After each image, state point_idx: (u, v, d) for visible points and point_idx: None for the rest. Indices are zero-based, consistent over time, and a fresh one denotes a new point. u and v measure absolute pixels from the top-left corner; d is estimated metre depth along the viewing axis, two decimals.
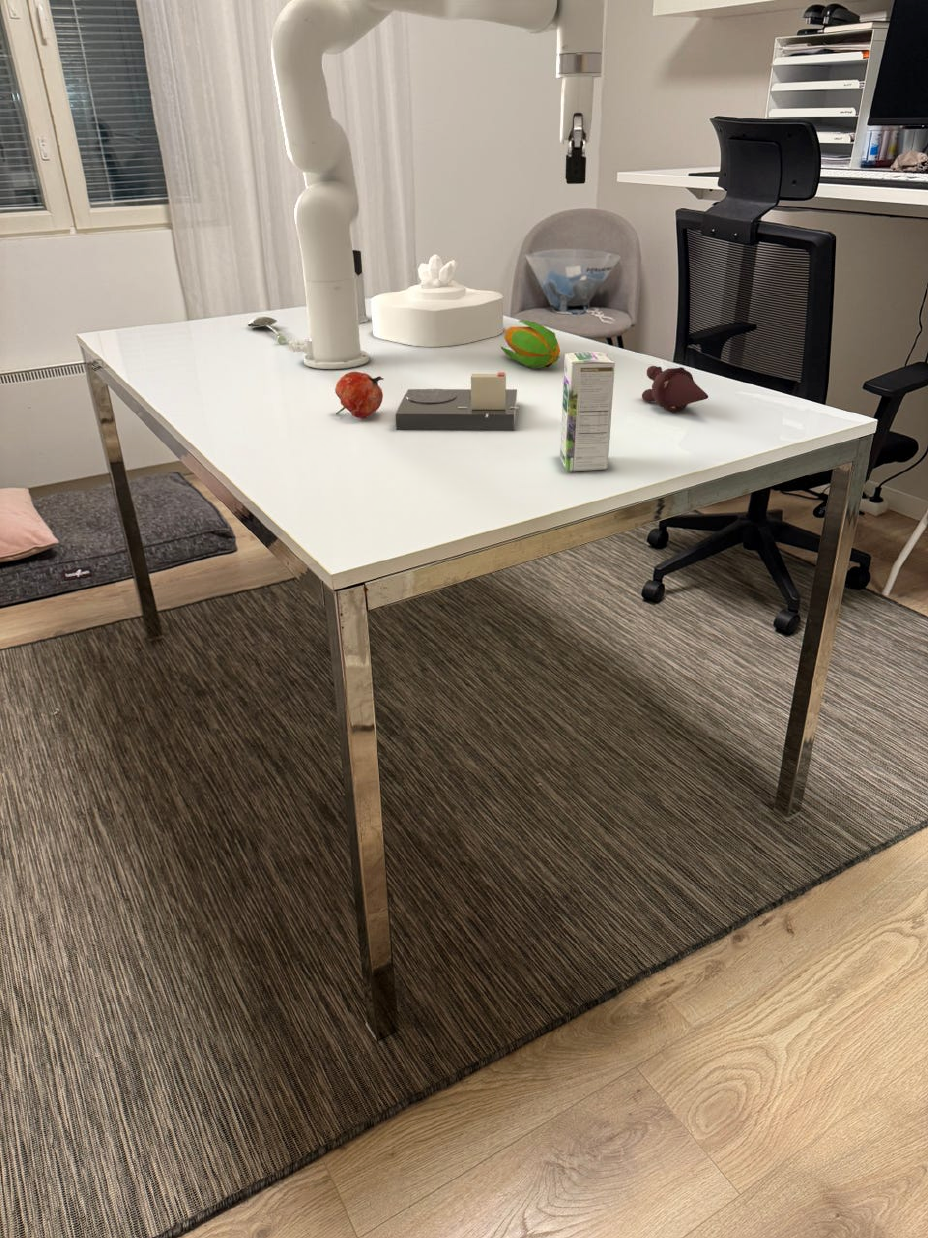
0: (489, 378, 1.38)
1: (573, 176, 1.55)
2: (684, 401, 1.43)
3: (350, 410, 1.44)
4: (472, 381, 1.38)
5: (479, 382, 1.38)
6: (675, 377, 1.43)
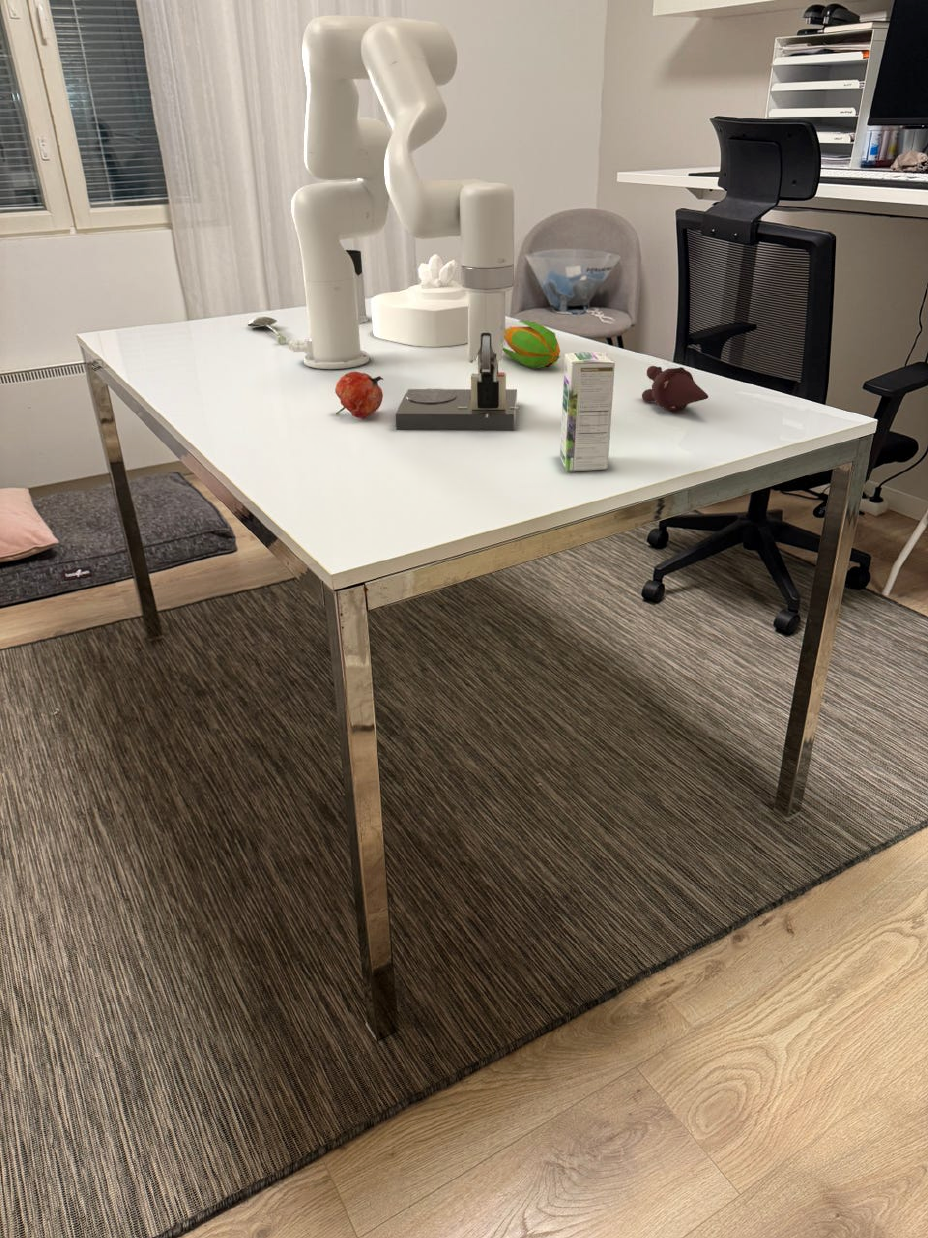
0: None
1: (484, 402, 1.38)
2: (684, 401, 1.43)
3: (350, 410, 1.44)
4: (472, 381, 1.38)
5: None
6: (675, 377, 1.43)
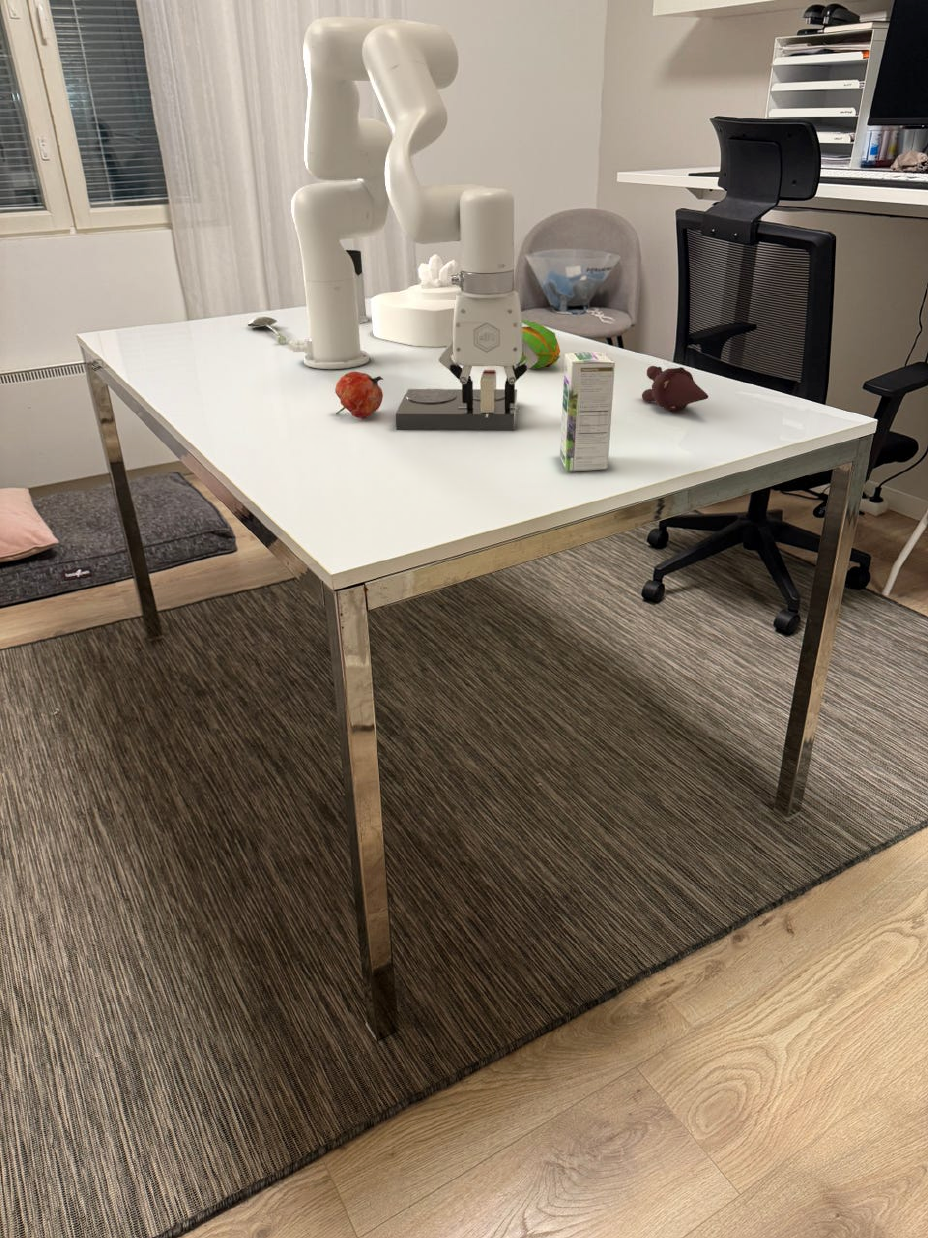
0: (495, 376, 1.39)
1: (514, 401, 1.40)
2: (684, 401, 1.43)
3: (350, 410, 1.44)
4: (494, 383, 1.37)
5: (494, 383, 1.38)
6: (675, 377, 1.43)
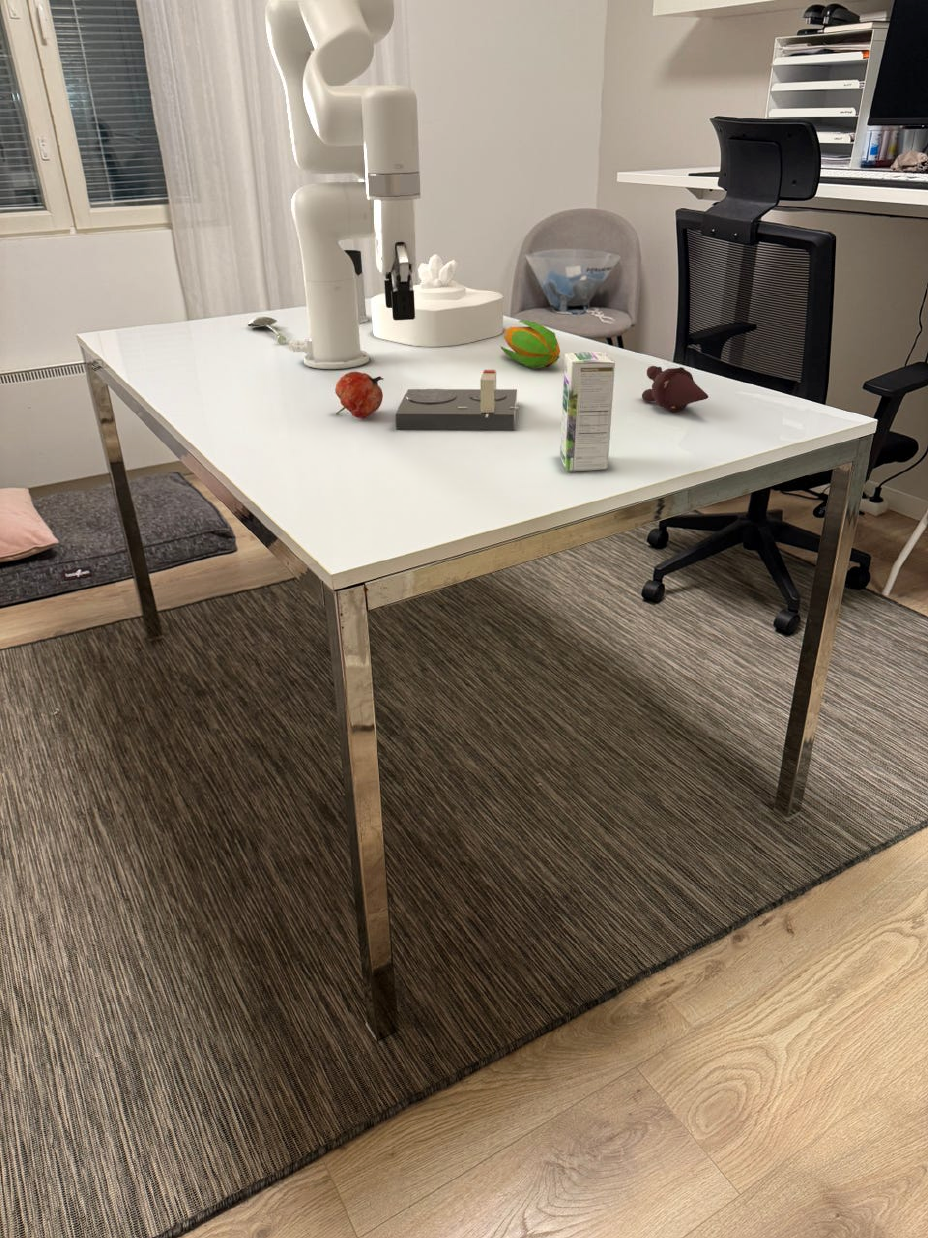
0: (495, 376, 1.39)
1: (401, 312, 1.32)
2: (684, 401, 1.43)
3: (350, 410, 1.44)
4: (494, 383, 1.37)
5: (494, 383, 1.38)
6: (675, 377, 1.43)
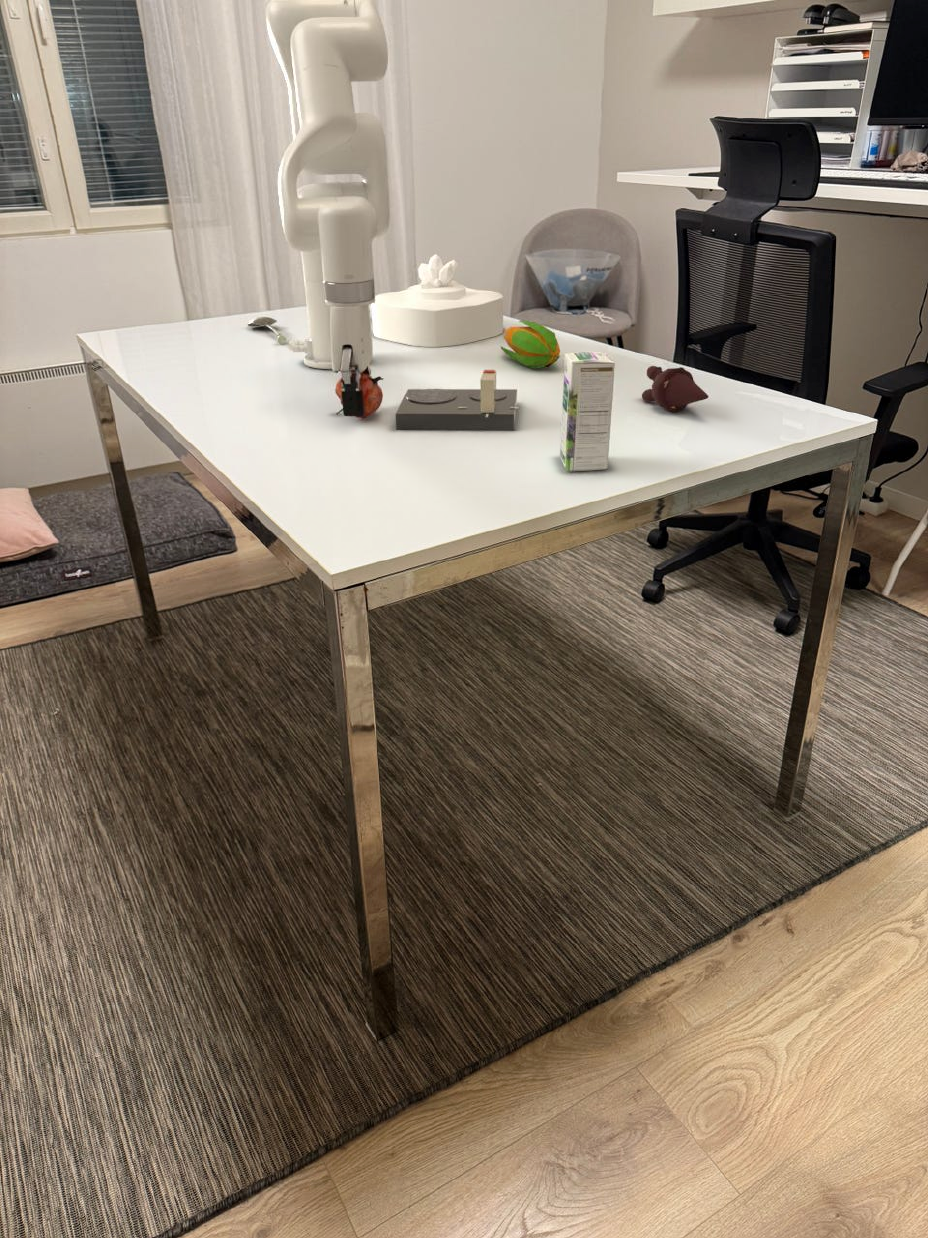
0: (495, 376, 1.39)
1: (349, 410, 1.42)
2: (684, 401, 1.43)
3: None
4: (494, 383, 1.37)
5: (494, 383, 1.38)
6: (675, 377, 1.43)
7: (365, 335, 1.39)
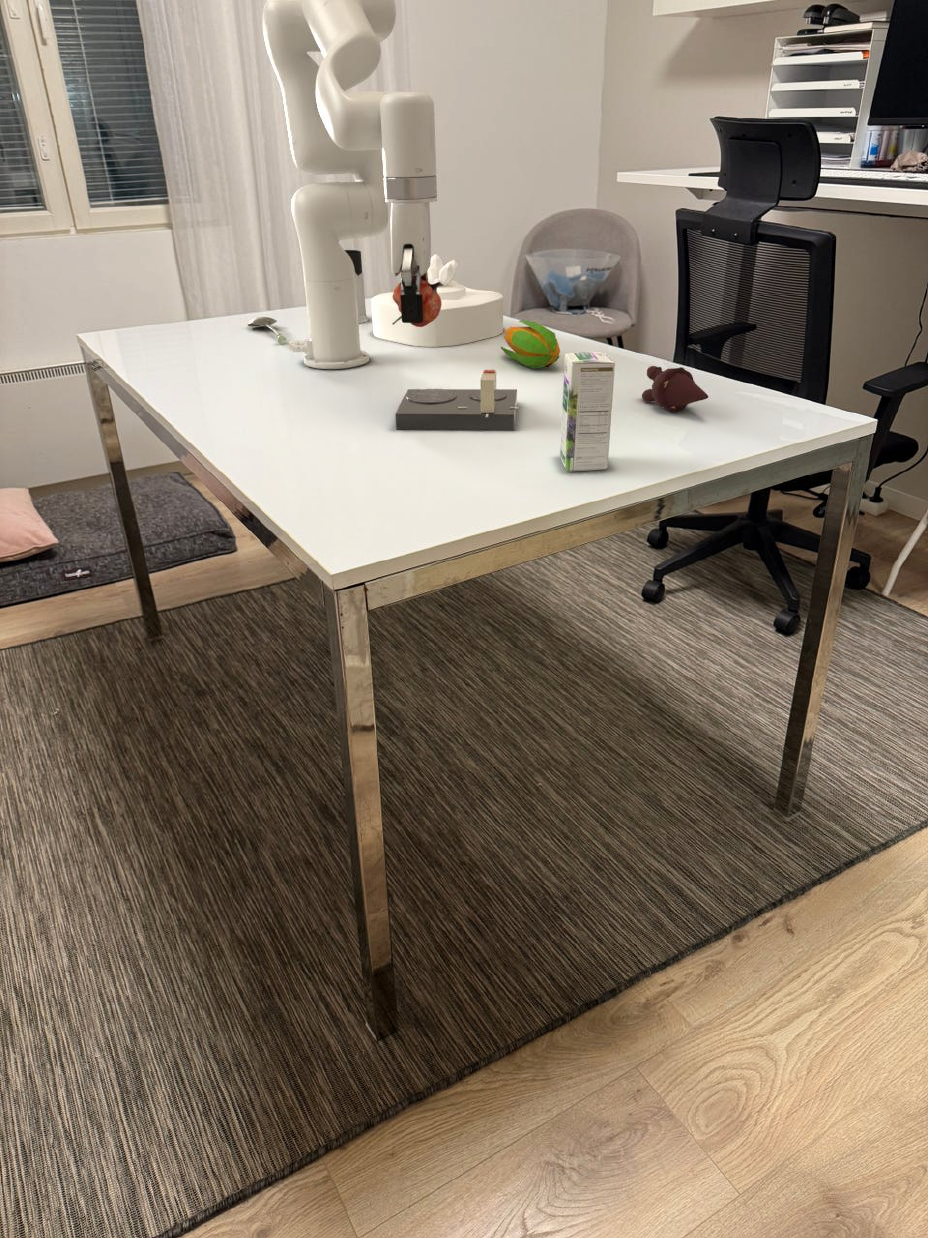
0: (495, 376, 1.39)
1: (408, 315, 1.36)
2: (684, 401, 1.43)
3: None
4: (494, 383, 1.37)
5: (494, 383, 1.38)
6: (675, 377, 1.43)
7: (426, 235, 1.33)
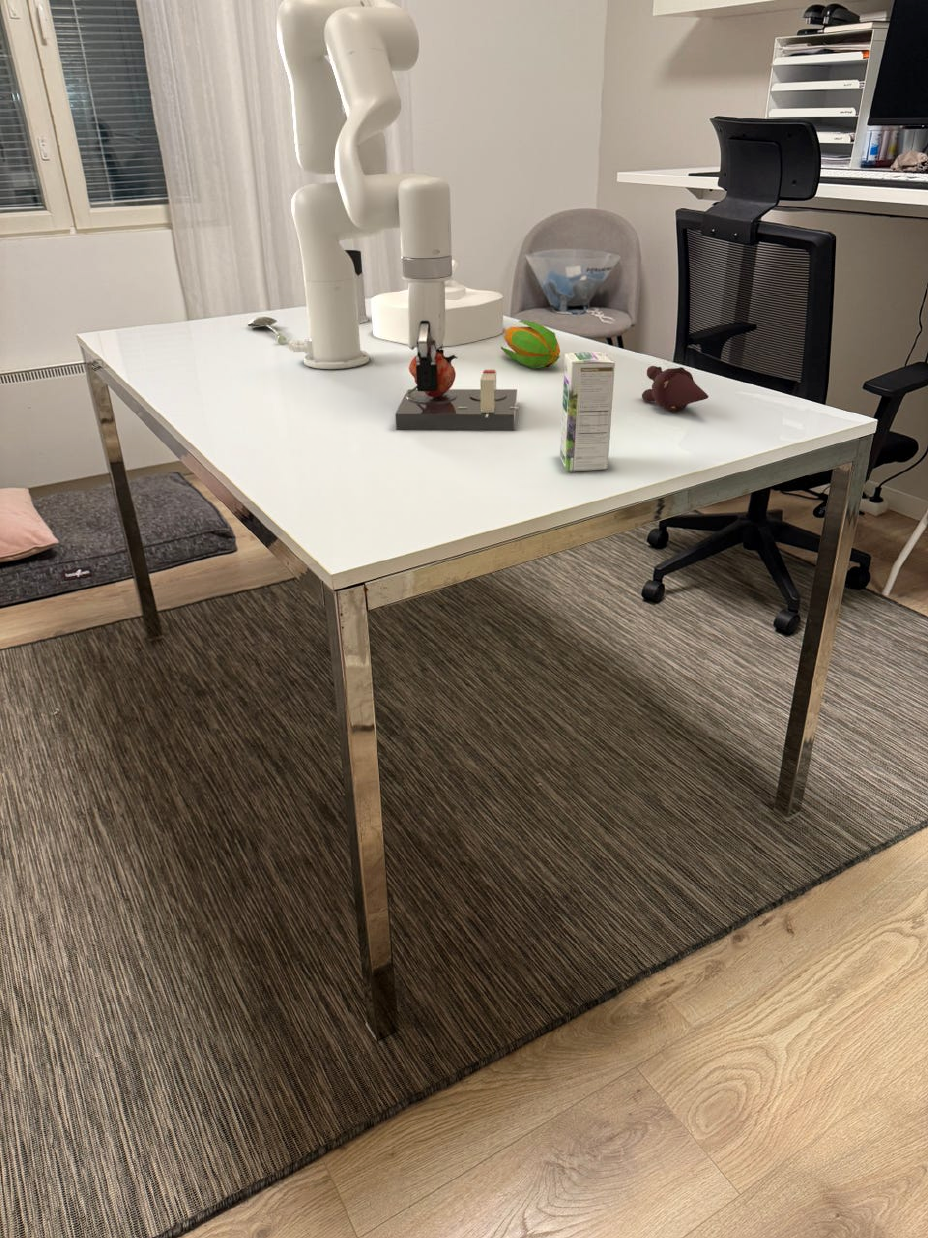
0: (495, 376, 1.39)
1: (423, 385, 1.41)
2: (684, 401, 1.43)
3: None
4: (494, 383, 1.37)
5: (494, 383, 1.38)
6: (675, 377, 1.43)
7: (442, 311, 1.39)
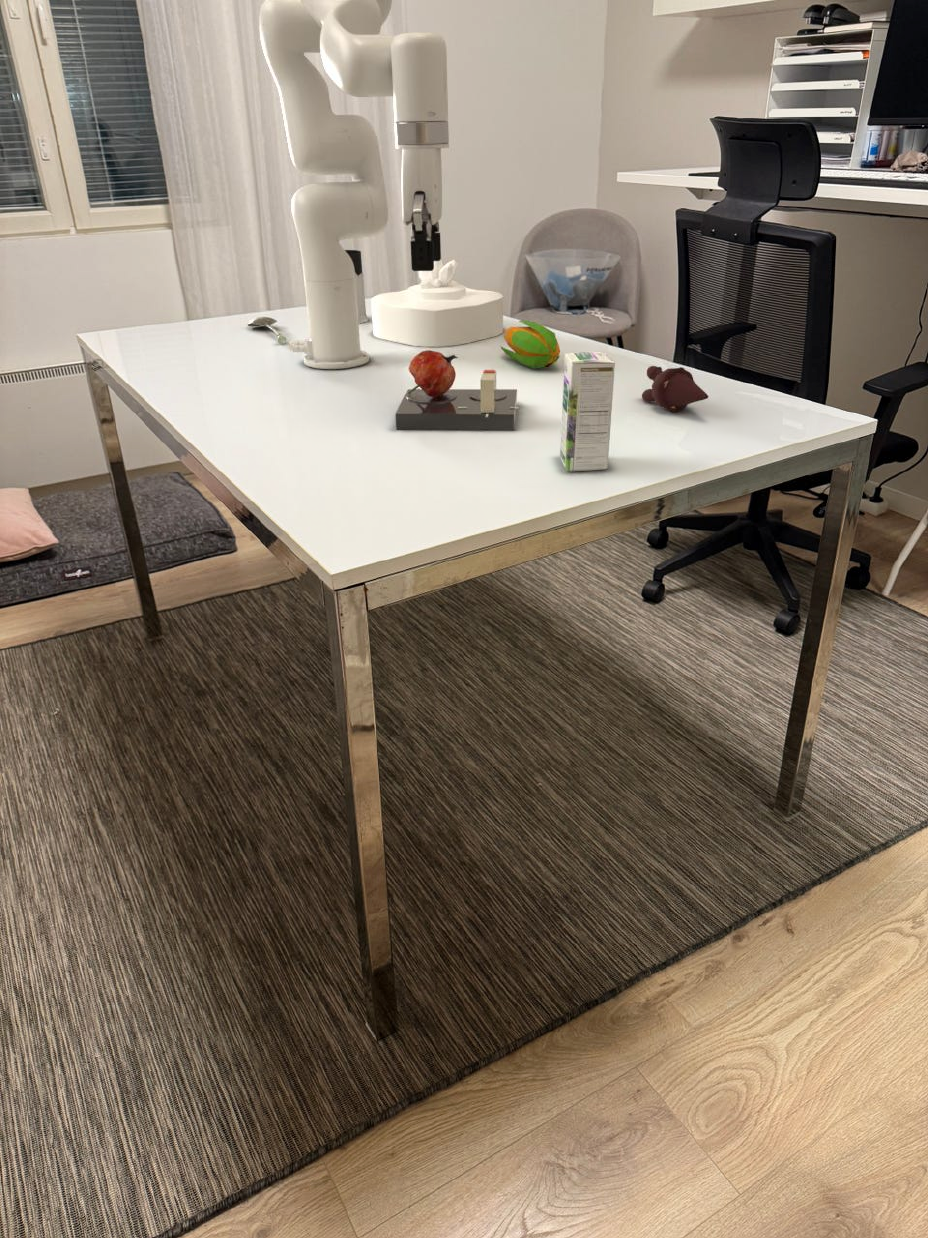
0: (495, 376, 1.39)
1: (418, 263, 1.32)
2: (684, 401, 1.43)
3: (424, 389, 1.44)
4: (494, 383, 1.37)
5: (494, 383, 1.38)
6: (675, 377, 1.43)
7: (438, 183, 1.30)
